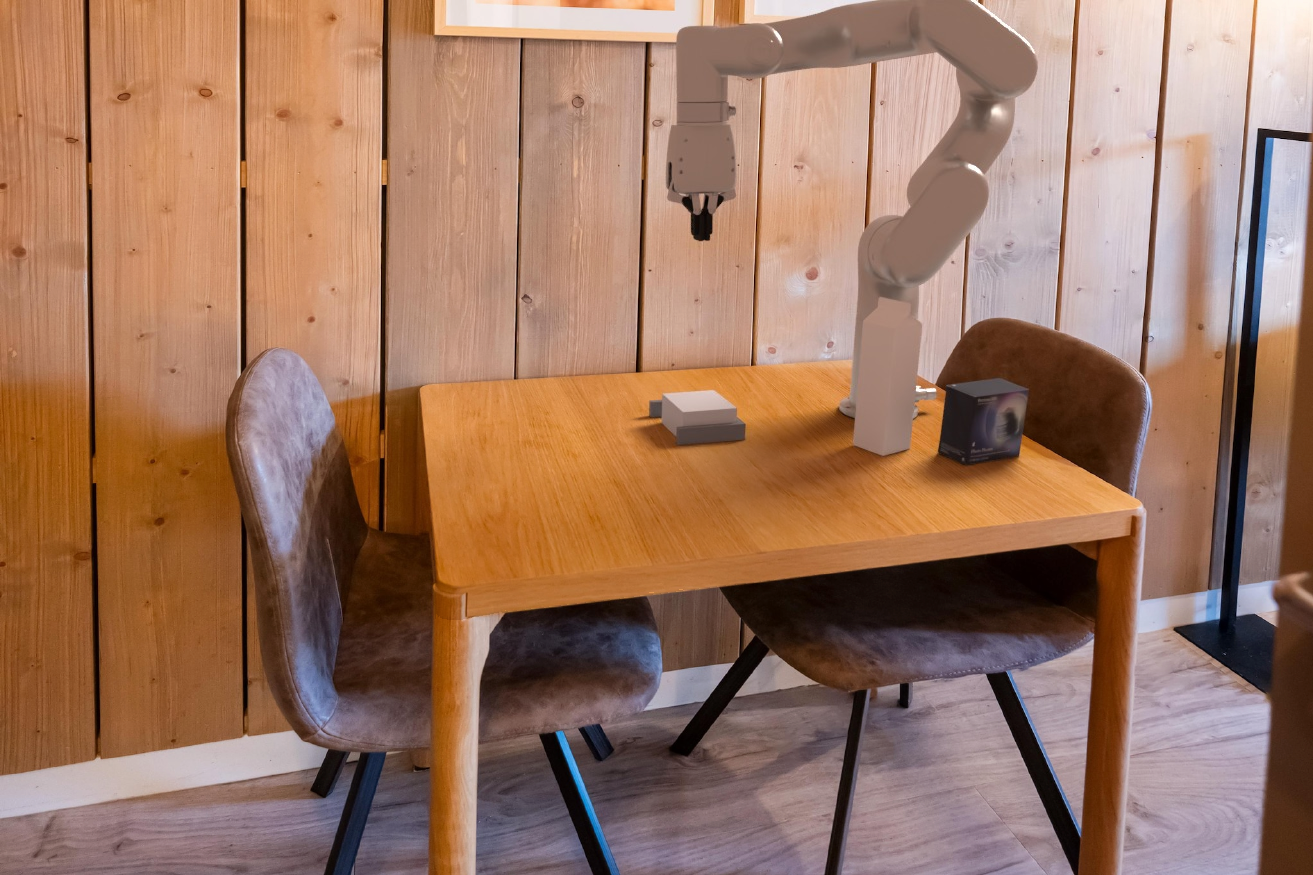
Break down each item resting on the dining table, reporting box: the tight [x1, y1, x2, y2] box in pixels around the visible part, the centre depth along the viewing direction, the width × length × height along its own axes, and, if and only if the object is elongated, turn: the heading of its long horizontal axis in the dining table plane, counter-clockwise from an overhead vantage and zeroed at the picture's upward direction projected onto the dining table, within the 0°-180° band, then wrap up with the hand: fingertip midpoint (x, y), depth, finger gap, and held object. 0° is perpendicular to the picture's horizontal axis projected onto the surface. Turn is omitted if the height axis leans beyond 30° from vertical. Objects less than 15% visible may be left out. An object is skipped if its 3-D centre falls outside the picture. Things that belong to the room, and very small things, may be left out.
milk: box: [852, 297, 923, 457], centre depth 155 cm, size 6×6×22 cm
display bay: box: [648, 399, 747, 446], centre depth 165 cm, size 10×15×2 cm
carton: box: [661, 389, 738, 437], centre depth 164 cm, size 8×10×5 cm
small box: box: [937, 377, 1030, 466], centre depth 154 cm, size 11×6×10 cm, turn 117°
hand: (701, 239), depth 164 cm, fingers closed
